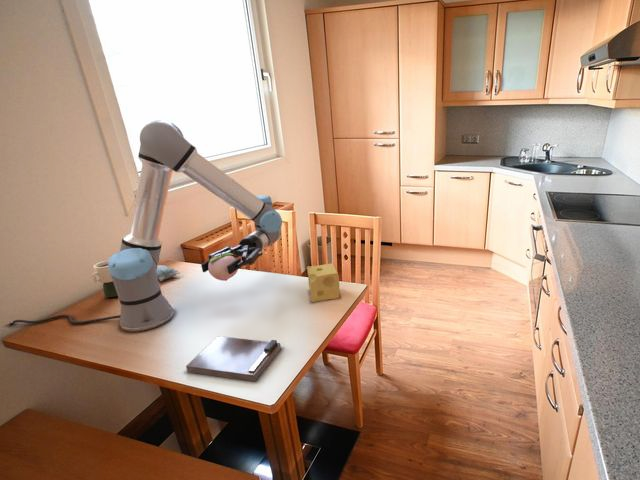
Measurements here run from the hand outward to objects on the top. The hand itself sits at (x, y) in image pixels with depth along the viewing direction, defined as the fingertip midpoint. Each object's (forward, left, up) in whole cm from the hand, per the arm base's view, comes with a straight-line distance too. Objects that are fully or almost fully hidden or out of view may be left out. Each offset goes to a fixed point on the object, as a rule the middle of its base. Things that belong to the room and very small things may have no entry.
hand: (215, 269), depth 119 cm
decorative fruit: (0, +4, -6) cm, 7 cm away
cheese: (+26, +21, -18) cm, 38 cm away
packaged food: (-46, +24, -18) cm, 55 cm away
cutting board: (+16, -20, -18) cm, 31 cm away
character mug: (-53, +7, -18) cm, 56 cm away
